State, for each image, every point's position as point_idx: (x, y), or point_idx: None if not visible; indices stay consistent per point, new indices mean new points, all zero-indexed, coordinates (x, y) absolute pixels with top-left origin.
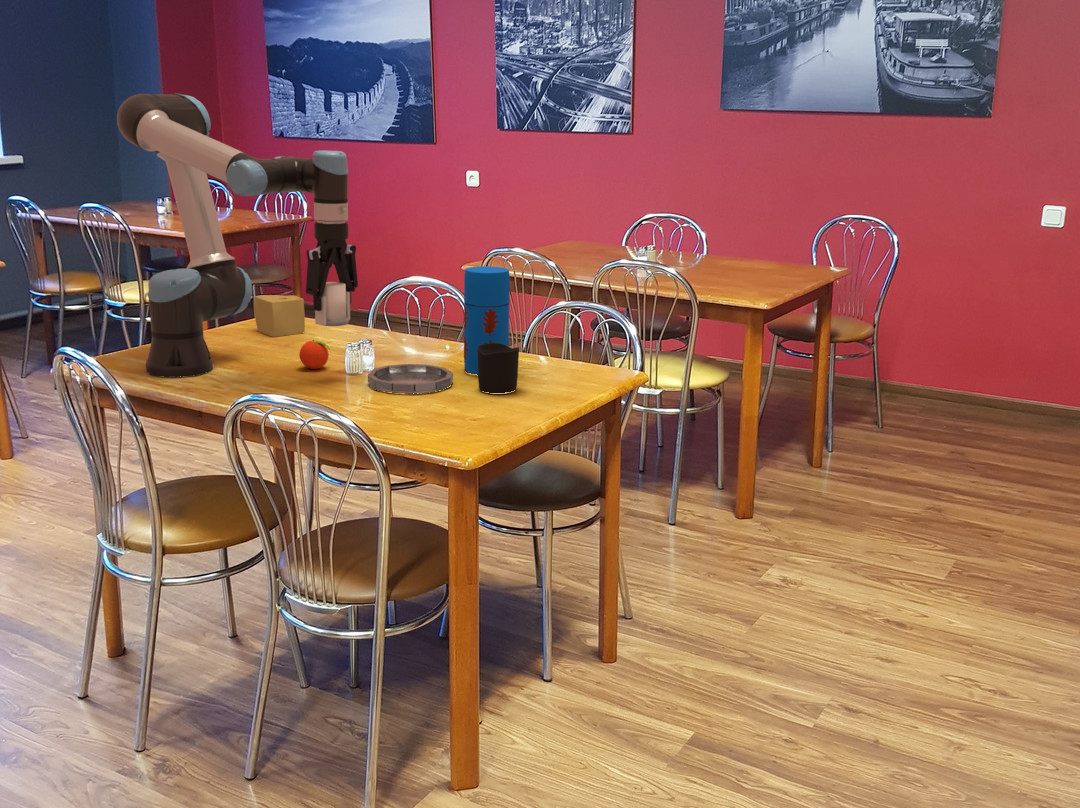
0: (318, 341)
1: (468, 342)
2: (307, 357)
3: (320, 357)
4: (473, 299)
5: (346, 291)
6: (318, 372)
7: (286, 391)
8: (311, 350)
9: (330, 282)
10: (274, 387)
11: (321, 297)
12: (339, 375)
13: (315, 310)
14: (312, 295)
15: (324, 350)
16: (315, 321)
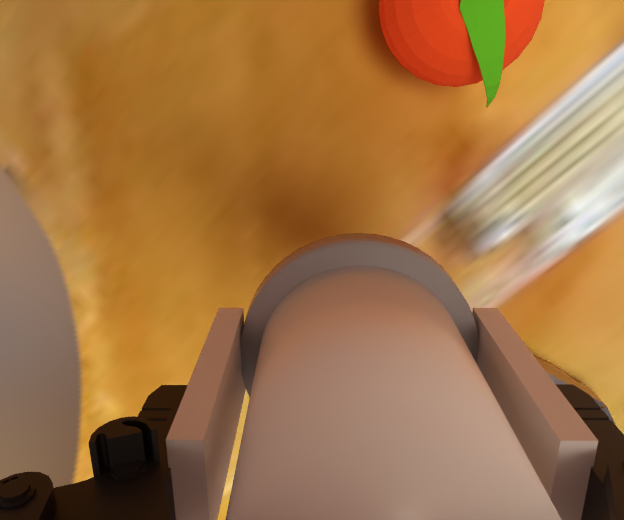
0: (495, 19)
1: None
2: (382, 28)
3: (428, 81)
4: None
5: (582, 511)
6: (396, 83)
7: (82, 210)
8: (405, 42)
9: (478, 506)
10: (86, 124)
11: (176, 515)
12: (409, 196)
13: (199, 360)
14: (92, 479)
15: (472, 76)
16: (215, 317)
